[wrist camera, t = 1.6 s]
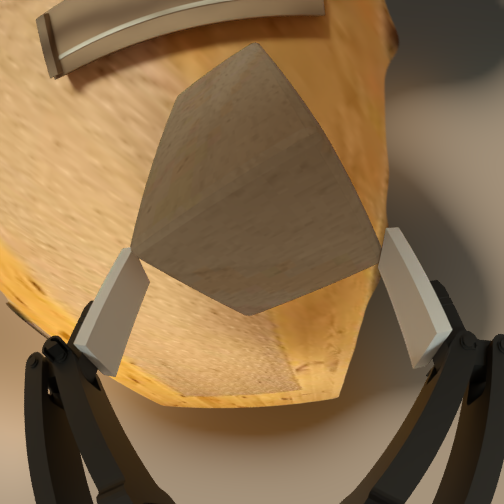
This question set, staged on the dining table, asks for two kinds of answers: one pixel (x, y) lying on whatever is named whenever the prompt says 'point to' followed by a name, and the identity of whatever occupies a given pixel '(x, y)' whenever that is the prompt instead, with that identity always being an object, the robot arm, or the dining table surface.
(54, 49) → the curved panel
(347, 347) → the dining table surface
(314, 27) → the dining table surface
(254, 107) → the wooden block
